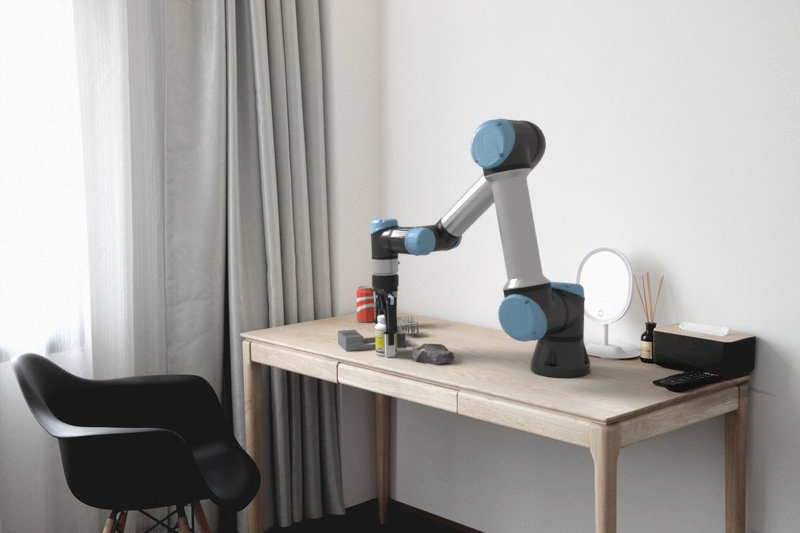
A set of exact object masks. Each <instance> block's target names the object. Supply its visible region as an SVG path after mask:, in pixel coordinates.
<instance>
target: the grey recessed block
mask: <svg viewBox="0 0 800 533" xmlns="http://www.w3.org/2000/svg"><path fill="white" fill-rule="evenodd" d="M397 329H398V327H397ZM399 329H400V328H399ZM399 329H398V332H397V348H406V345H407V344H406V342H407V341H406V337H407V336H406V332H405V333H404V331H402V329H401V330H399ZM369 343H370V344H369ZM337 344H338V345H339V346H340V347H341V348H342V349H343V350H344V351H345V352H355V351H369V350H376V341H375V337H373V336H372V337H364V336H363V335H362V334H361V333H360V332H358V331H357V330H356V329H347V330H345V329H344V330H337Z"/></svg>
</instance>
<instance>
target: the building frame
mask: <svg viewBox="0 0 800 533" xmlns="http://www.w3.org/2000/svg"><path fill="white" fill-rule="evenodd" d="M415 325H416V326H417V327H415ZM397 328H398V329H399V330H401V331H402V332H404V333H405V334H406V337H407V336H408V334H411V338H414V336H415V332H416V336H417V338H418V337H419V336H420V334H419V333H420V330H419V317H417V318H416V321H415V320H413V317H412V316H410V318H409V317H407V319H401V318H399V319H397Z"/></svg>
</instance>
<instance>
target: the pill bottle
mask: <svg viewBox="0 0 800 533" xmlns="http://www.w3.org/2000/svg"><path fill="white" fill-rule="evenodd" d="M377 319H378V324H375V327H374V331H375V332H374V333H375V334H374V336H375V341H376V342H375V344H376V349H375V354H376V355H377V356H380V357H385V334H384V332H386V326H385V317H384V315H379V316H378V318H377ZM391 329H392V328H391ZM397 354H398V347H397V333H395V356H396V355H397Z"/></svg>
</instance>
